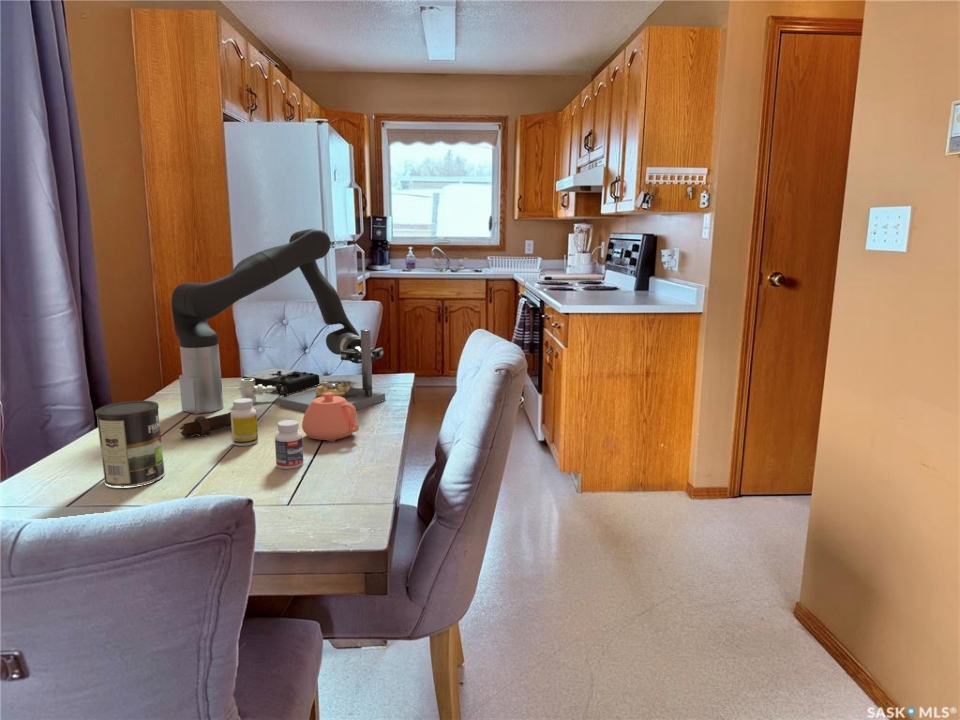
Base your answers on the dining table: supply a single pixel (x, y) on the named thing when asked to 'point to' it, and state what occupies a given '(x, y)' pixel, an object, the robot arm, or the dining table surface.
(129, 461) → the coffee can
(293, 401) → the base plate
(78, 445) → the dining table surface
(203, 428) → the bolt
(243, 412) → the supplement bottle
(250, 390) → the valve
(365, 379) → the brass hub with handle
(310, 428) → the sugar bowl
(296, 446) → the pill bottle
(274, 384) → the multimeter
